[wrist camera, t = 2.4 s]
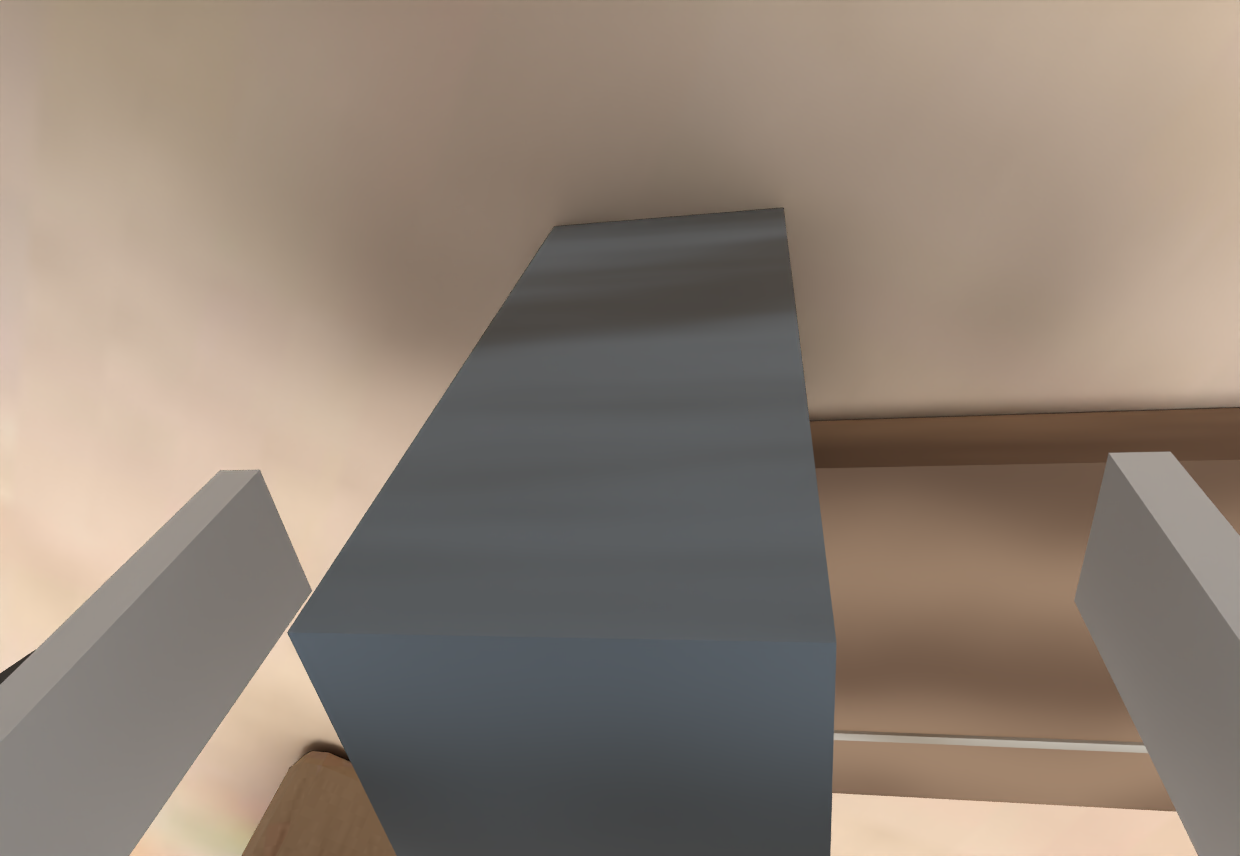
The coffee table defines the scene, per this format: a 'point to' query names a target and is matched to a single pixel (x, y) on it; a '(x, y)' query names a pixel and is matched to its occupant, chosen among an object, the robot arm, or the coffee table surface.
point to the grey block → (600, 570)
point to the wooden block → (320, 814)
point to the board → (987, 601)
